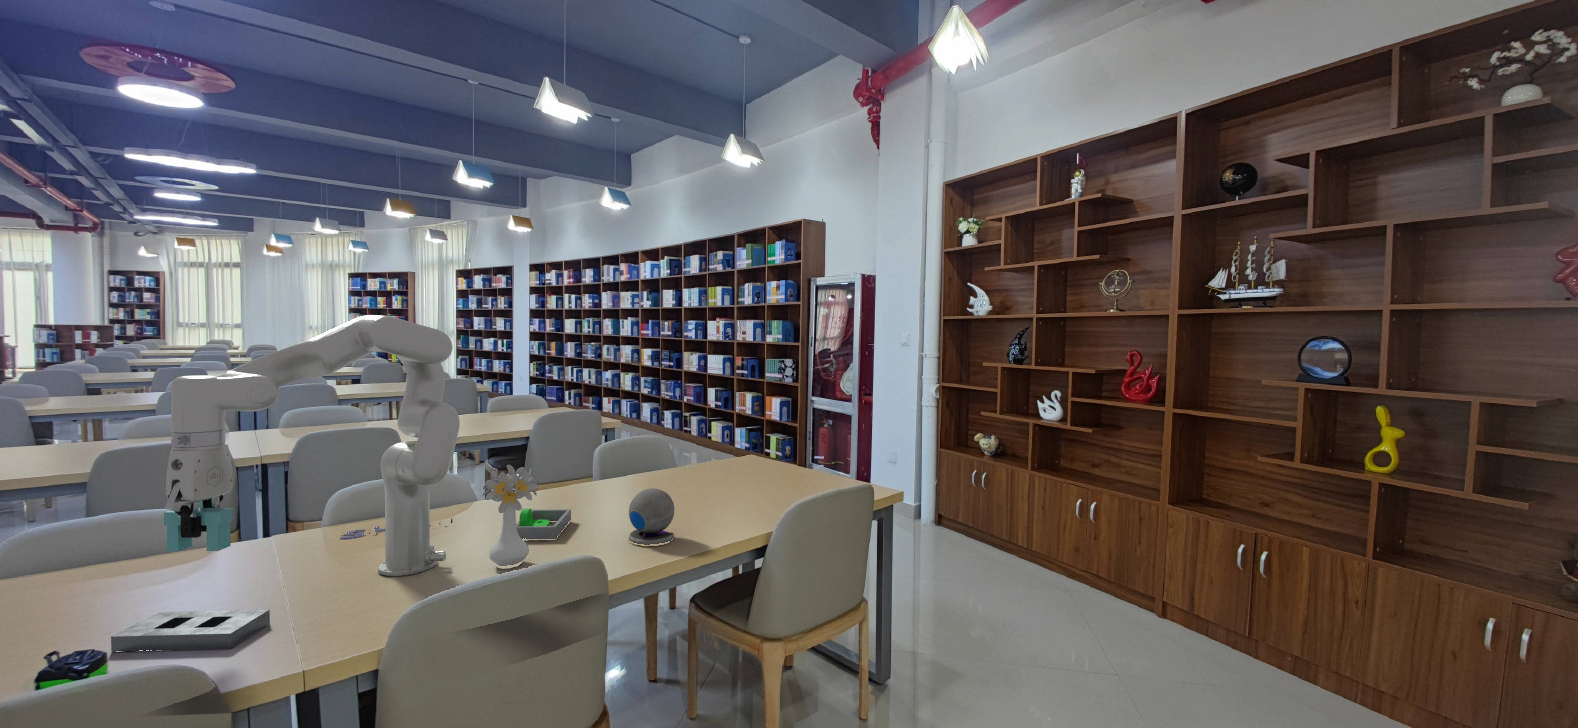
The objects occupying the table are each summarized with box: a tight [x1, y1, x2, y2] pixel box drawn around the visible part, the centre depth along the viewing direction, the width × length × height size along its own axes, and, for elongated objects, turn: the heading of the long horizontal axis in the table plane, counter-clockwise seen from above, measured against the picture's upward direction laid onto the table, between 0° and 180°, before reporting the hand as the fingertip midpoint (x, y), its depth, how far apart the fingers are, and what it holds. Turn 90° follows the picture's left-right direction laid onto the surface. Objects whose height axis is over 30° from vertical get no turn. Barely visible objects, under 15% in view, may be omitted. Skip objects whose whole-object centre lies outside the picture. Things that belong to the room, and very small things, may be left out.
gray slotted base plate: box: [110, 609, 271, 653], centre depth 119 cm, size 20×10×3 cm, turn 96°
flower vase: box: [481, 464, 539, 566], centre depth 158 cm, size 13×18×25 cm
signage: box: [339, 527, 385, 540], centre depth 186 cm, size 28×1×10 cm
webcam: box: [628, 487, 675, 545], centre depth 181 cm, size 13×13×15 cm
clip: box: [163, 507, 234, 552], centre depth 120 cm, size 10×3×8 cm, turn 95°
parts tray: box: [516, 508, 572, 539], centre depth 186 cm, size 12×18×4 cm, turn 6°
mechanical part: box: [518, 508, 551, 526], centre depth 186 cm, size 12×6×8 cm, turn 6°
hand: (199, 533), depth 120 cm, fingers closed on clip, 3 cm apart
